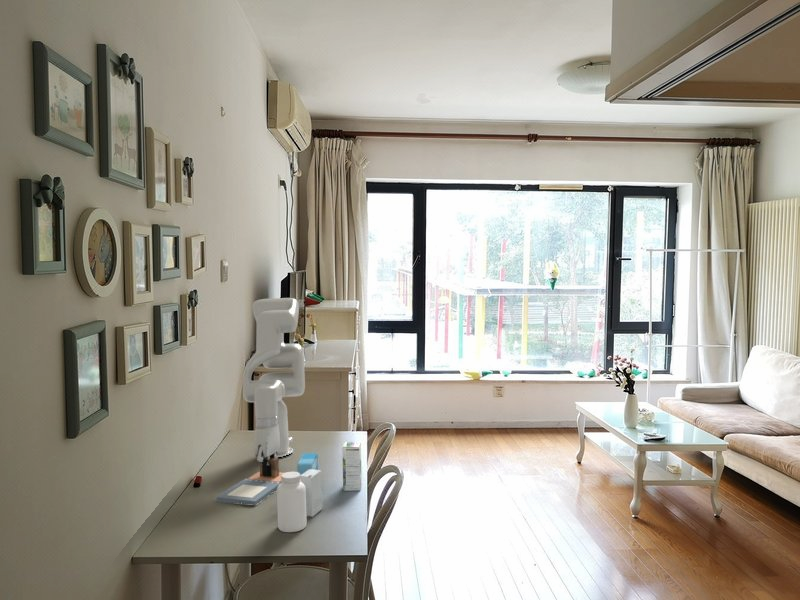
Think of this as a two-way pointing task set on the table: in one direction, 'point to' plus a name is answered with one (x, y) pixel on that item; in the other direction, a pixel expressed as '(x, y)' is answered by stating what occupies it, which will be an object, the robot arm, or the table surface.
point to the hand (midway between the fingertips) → (269, 474)
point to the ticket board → (248, 492)
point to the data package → (307, 462)
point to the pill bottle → (291, 503)
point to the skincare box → (312, 491)
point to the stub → (274, 471)
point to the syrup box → (352, 466)
